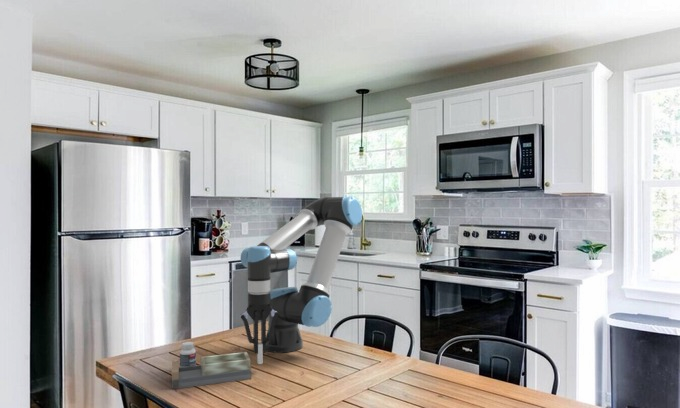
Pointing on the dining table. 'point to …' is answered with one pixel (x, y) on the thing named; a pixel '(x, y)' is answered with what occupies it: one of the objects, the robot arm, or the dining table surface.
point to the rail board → (194, 376)
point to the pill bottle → (187, 355)
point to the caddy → (225, 363)
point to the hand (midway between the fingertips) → (259, 362)
